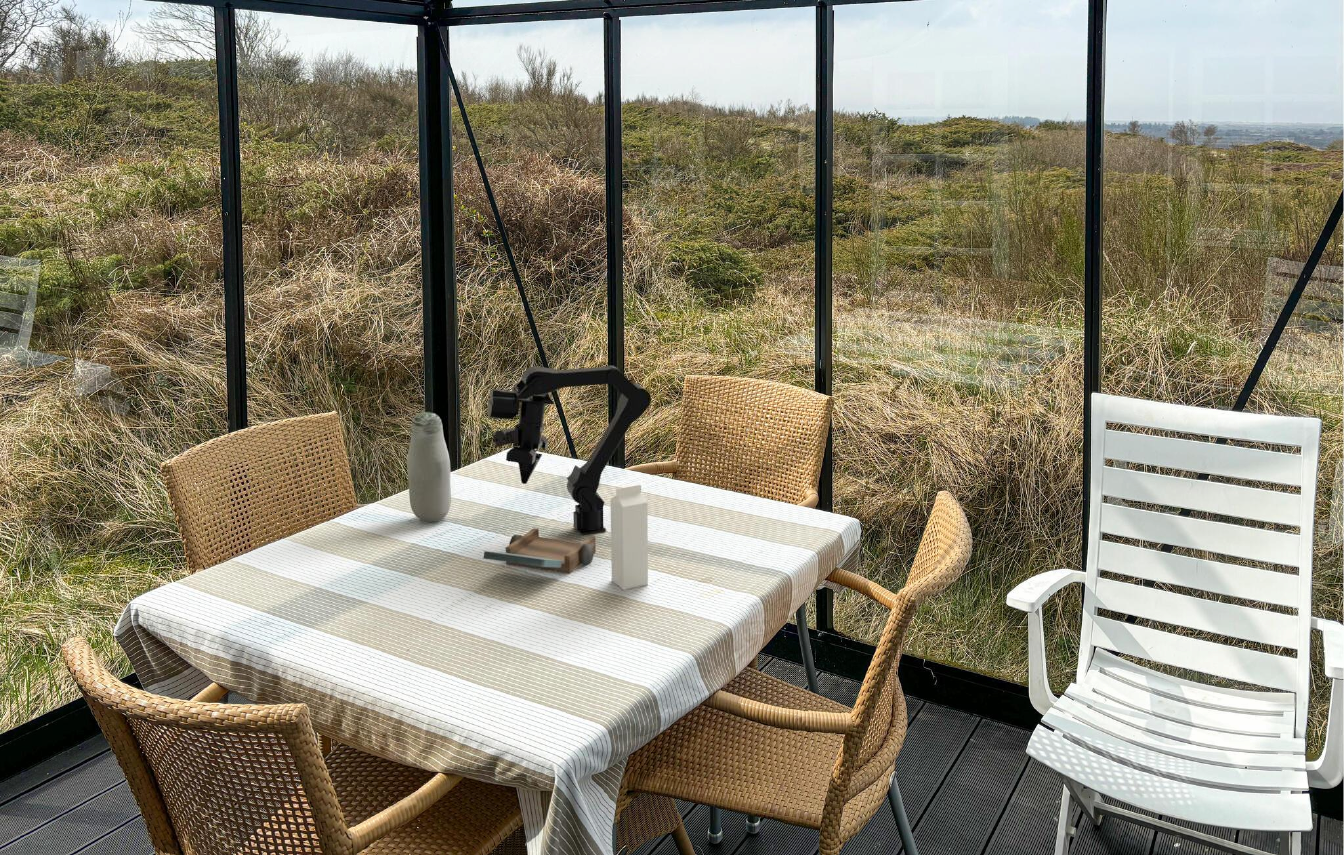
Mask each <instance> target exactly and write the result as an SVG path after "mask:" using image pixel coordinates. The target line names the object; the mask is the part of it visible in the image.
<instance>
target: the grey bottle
mask: <svg viewBox="0 0 1344 855" xmlns="http://www.w3.org/2000/svg"><path fill="white" fill-rule="evenodd" d="M410 434H411V435H410V443H409V447H408V451H407V458H406V470H407V471H406V472H407V481H408V483H407V484H408V493H409V494H408V495H409V496H408V497H409V505H410V508H411V511H412V512H413V514H414V516H415V517H416V518H417V519H419V520H420V521H423V522H428V523H433V522H439V521H441V520H442V519H444V518H445V517H446V516H447V515H448V513H449V511H450V508H451V504H452V489H451V488H452V487H451V460H450V455H449V451H448V448H447V443H446V440H445V437H444V436H445V435H444V429H443V423H442V419H441V418H440V416H439V415H438V414H436V413H433V412H430V411H426V412H419V413H417V414H416V415H415V416H414V417H413V419H412V422H411V433H410Z"/></svg>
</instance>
